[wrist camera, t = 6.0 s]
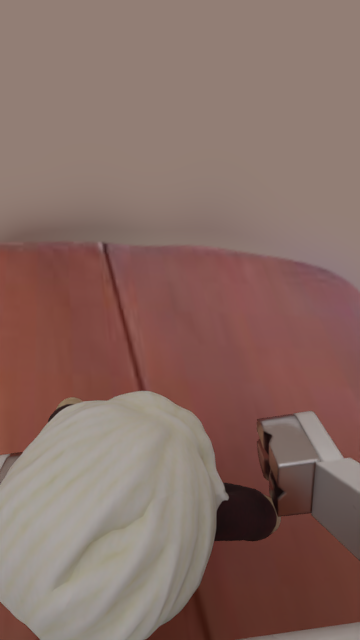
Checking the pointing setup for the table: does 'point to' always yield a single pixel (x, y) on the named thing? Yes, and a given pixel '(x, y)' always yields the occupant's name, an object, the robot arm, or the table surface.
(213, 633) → the table surface
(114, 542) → the grandmother figurine
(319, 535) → the table surface
